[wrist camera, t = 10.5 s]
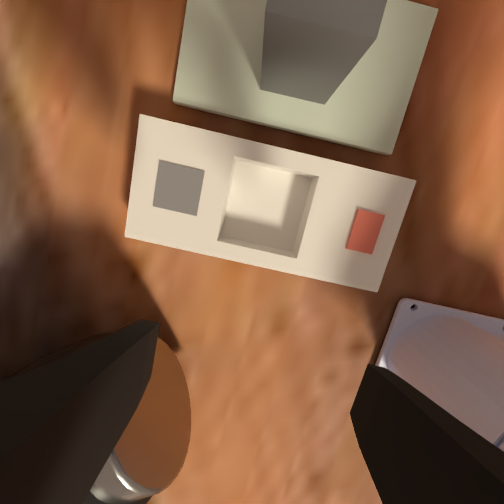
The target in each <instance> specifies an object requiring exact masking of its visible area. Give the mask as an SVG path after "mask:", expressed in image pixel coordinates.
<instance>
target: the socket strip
mask: <svg viewBox="0 0 504 504" xmlns="http://www.w3.org/2000/svg"><path fill="white" fill-rule="evenodd" d="M416 181H417V180H413V179H409V178H405V177H400V176H396V175H392V174H388V173H384V172H380V171H375V170H371V169H367V168H363V167H359V166H355V165H350V164H346V163H342V162H338V161H334V160H330V159H326V158H321V157H317V156H313V155H309V154H305V153H301V152H296V151H292V150H288V149H284V148H280V147H276V146H271V145H267V144H263V143H259V142H255V141H251V140H247V139H242V138H238V137H234V136H230V135H226V134H222V133H217V132H213V131H209V130H205V129H201V128H197V127H192V126H188V125H184V124H180V123H176V122H172V121H168V120H163V119H159V118H155V117H151V116H147V115H143V114H140V116H139V124H138V132H137V140H136V148H135V156H134V164H133V173H132V181H131V189H130V197H129V205H128V213H127V221H126V229H125V237H128V238H132V239H137V240H141V241H146V242H151V243H155V244H160V245H164V246H169V247H173V248H178V249H182V250H187V251H191V252H196V253H200V254H205V255H209V256H214V257H218V258H223V259H227V260H232V261H236V262H241V263H245V264H250V265H254V266H259V267H264V268H268V269H273V270H277V271H282V272H286V273H291V274H295V275H300V276H304V277H309V278H313V279H318V280H322V281H327V282H331V283H336V284H340V285H345V286H349V287H354V288H358V289H363V290H368V291H372V292H378V290H379V287H380V284H381V281H382V278H383V275H384V272H385V270H386V267H387V264H388V261H389V258H390V255H391V252H392V249H393V247H394V244H395V241H396V238H397V235H398V232H399V229H400V227H401V224H402V221H403V218H404V215H405V212H406V209H407V207H408V204H409V201H410V198H411V195H412V192H413V189H414V187H415V184H416Z"/></svg>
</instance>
